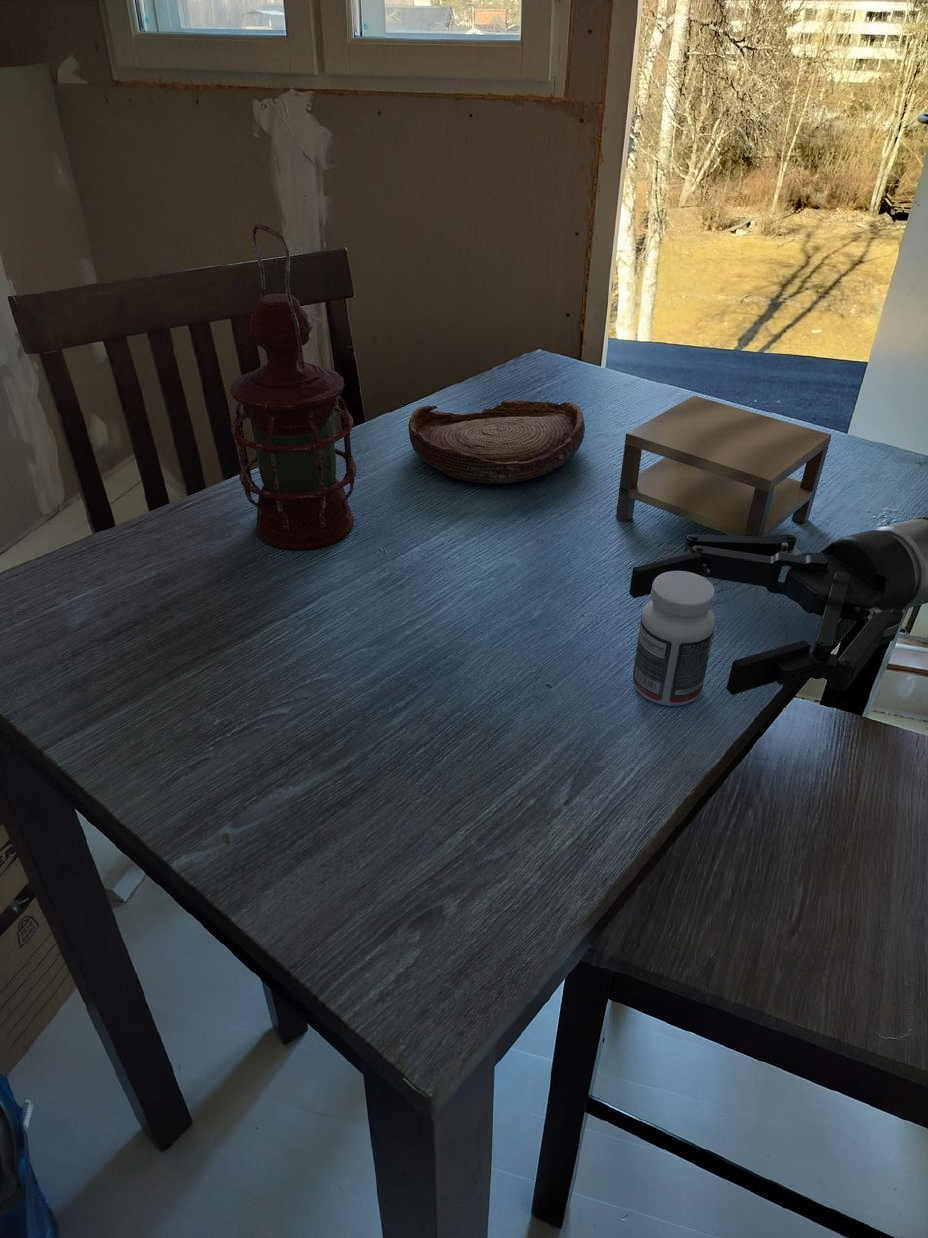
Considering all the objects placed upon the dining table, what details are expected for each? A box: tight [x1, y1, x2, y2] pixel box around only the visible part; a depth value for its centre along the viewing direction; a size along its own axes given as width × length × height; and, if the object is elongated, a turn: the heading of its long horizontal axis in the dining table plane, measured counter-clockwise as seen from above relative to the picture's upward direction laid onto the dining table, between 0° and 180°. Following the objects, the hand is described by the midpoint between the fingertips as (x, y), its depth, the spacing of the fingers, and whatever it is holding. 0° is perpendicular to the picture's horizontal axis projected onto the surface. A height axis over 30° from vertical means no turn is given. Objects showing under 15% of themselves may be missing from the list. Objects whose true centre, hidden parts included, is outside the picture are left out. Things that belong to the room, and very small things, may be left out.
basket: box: [408, 399, 586, 485], centre depth 105 cm, size 22×20×5 cm
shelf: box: [615, 395, 833, 537], centre depth 91 cm, size 16×14×10 cm
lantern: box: [230, 223, 358, 551], centre depth 83 cm, size 12×12×30 cm
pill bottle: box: [632, 571, 716, 707], centre depth 68 cm, size 6×6×10 cm
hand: (678, 627), depth 67 cm, fingers open, 13 cm apart
